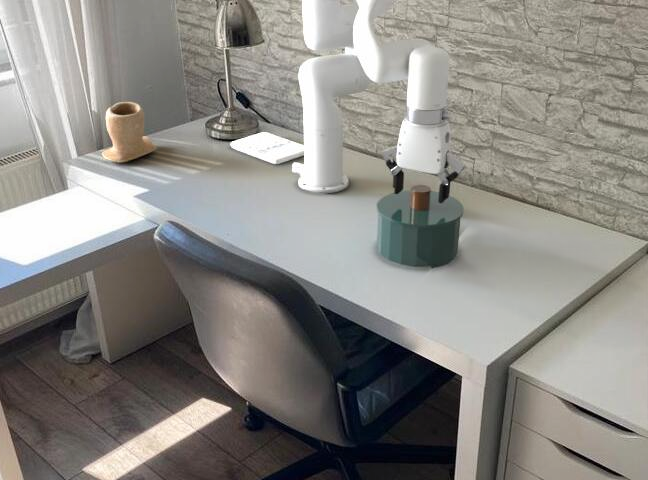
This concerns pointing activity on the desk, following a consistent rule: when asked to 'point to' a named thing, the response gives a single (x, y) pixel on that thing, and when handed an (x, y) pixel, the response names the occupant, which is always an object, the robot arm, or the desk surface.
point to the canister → (418, 243)
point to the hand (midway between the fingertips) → (420, 196)
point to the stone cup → (126, 133)
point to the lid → (419, 208)
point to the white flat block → (269, 147)
